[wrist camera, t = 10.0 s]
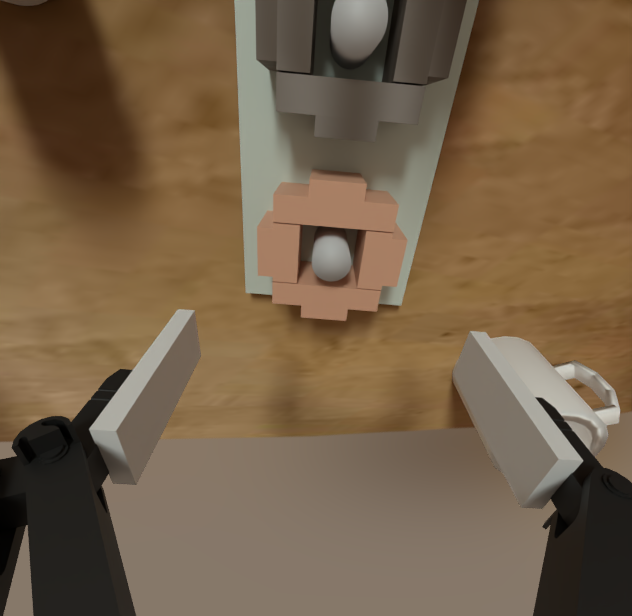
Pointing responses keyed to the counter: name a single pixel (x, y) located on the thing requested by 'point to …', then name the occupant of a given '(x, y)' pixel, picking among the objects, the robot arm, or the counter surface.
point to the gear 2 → (331, 211)
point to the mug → (557, 392)
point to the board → (337, 154)
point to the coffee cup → (25, 2)
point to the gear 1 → (348, 94)
